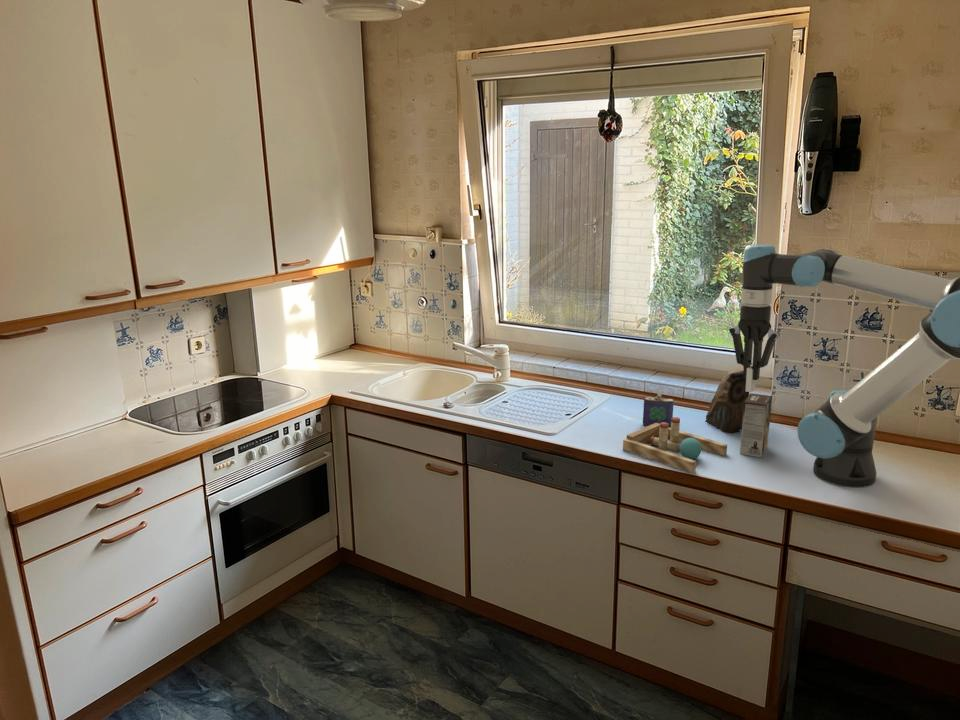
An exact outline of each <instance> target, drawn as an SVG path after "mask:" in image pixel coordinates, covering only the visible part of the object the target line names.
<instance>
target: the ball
mask: <svg viewBox="0 0 960 720" xmlns="http://www.w3.org/2000/svg"><path fill="white" fill-rule="evenodd" d="M679 444H680V453H681V454H682V456H683V457H685V458H688V459H691V460H695V459H697V458H698V457H699V456H700V454H701V453H702V451H703V449H702V448H701V444H700V443H699V442H698V441H697V440H696V439H694V438H687V439H685V440H683V441H682V442H681V443H679Z"/></svg>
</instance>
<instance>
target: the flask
mask: <svg viewBox="0 0 960 720" xmlns="http://www.w3.org/2000/svg"><path fill="white" fill-rule="evenodd" d="M662 395H663V394H661V393H658V394H657V395H656V396H655V397H652V396H648V397H645V398H644V399H643V410H642V411H643V414H642V426H644V427H647V426H649V425H651V424H654V423H659V424H660V423H661V422H666V423H668V424H669V425H668V427H670V428H671V420H672V417H674V402H675V400H674V399H672V398H662Z"/></svg>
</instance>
